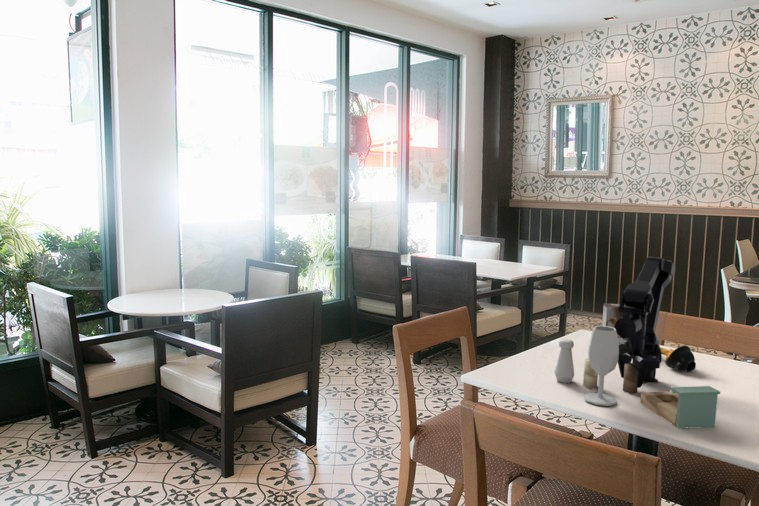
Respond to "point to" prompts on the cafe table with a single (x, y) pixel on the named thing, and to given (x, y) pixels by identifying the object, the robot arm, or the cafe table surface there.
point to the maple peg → (589, 376)
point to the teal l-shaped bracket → (696, 406)
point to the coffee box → (611, 315)
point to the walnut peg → (629, 379)
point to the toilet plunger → (680, 358)
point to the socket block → (661, 404)
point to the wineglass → (602, 361)
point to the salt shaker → (565, 362)
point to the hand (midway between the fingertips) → (630, 382)
